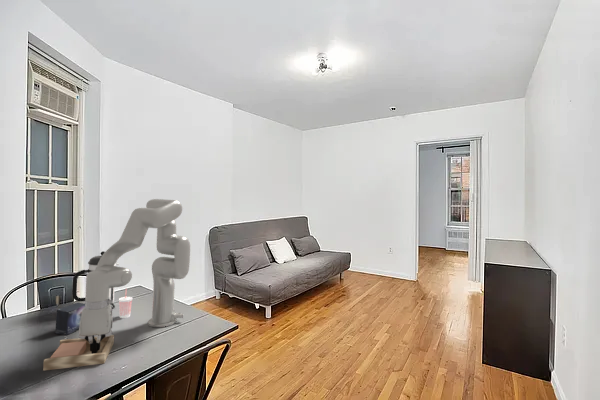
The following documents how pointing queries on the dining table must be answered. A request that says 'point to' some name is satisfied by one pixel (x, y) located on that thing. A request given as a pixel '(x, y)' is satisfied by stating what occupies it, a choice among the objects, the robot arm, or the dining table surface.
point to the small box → (68, 319)
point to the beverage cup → (125, 306)
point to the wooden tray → (81, 359)
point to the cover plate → (70, 349)
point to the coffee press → (92, 267)
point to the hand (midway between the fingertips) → (94, 352)
